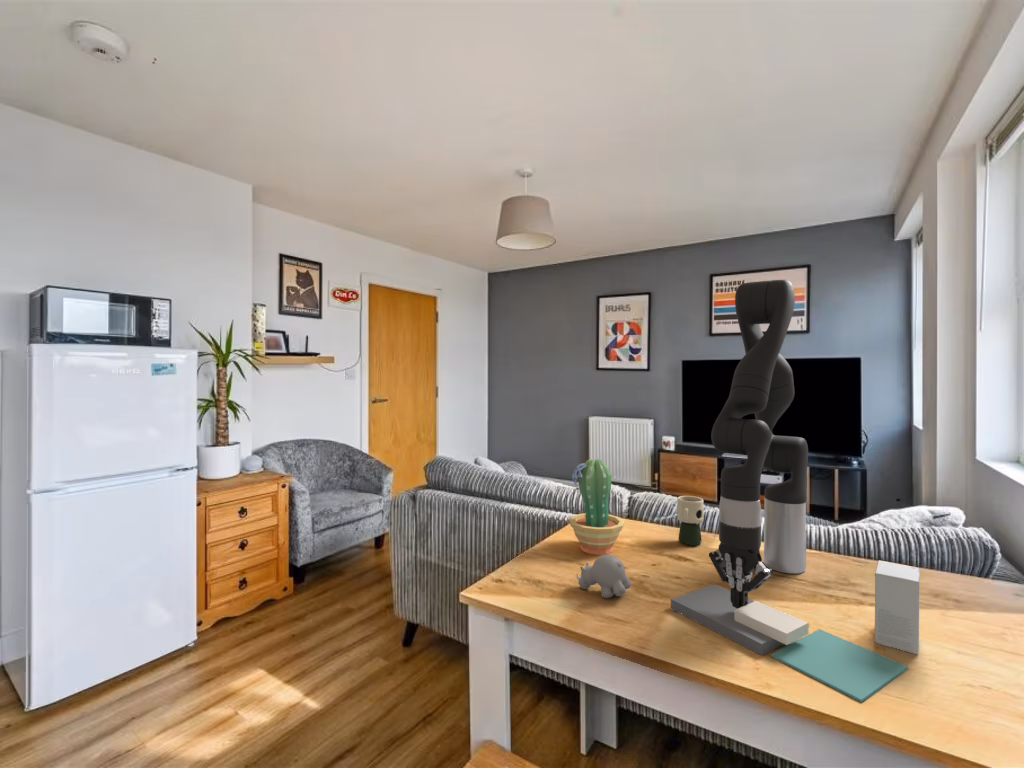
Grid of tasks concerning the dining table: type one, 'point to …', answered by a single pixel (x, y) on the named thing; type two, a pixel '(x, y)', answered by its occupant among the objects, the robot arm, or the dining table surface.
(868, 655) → the teal mat
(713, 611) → the plate
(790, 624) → the cream tile
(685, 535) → the character mug
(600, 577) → the chubby cartoon animal
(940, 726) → the dining table surface
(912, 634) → the small box
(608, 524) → the potted cactus
